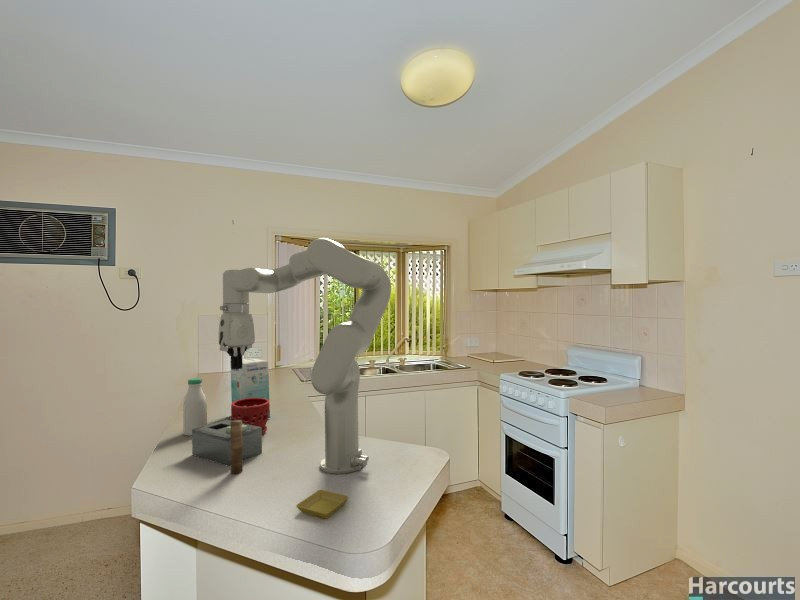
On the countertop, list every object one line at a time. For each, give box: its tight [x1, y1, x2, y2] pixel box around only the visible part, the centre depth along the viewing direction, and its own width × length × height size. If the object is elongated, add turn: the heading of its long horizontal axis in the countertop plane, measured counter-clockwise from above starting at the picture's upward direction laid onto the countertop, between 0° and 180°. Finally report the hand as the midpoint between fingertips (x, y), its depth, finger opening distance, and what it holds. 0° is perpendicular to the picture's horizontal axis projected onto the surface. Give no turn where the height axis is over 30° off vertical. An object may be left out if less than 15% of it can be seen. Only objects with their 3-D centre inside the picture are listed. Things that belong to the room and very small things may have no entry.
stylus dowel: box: [230, 420, 243, 475], centre depth 109 cm, size 3×3×14 cm
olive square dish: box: [295, 489, 350, 519], centre depth 88 cm, size 9×9×2 cm
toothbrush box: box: [229, 357, 271, 419], centre depth 166 cm, size 18×10×24 cm, turn 41°
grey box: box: [191, 419, 263, 467], centre depth 123 cm, size 18×12×8 cm, turn 58°
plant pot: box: [230, 398, 270, 435], centre depth 143 cm, size 13×13×12 cm
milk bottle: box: [182, 377, 208, 437], centre depth 146 cm, size 8×8×20 cm
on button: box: [226, 425, 248, 433], centre depth 121 cm, size 4×4×5 cm
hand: (236, 368), depth 121 cm, fingers closed
